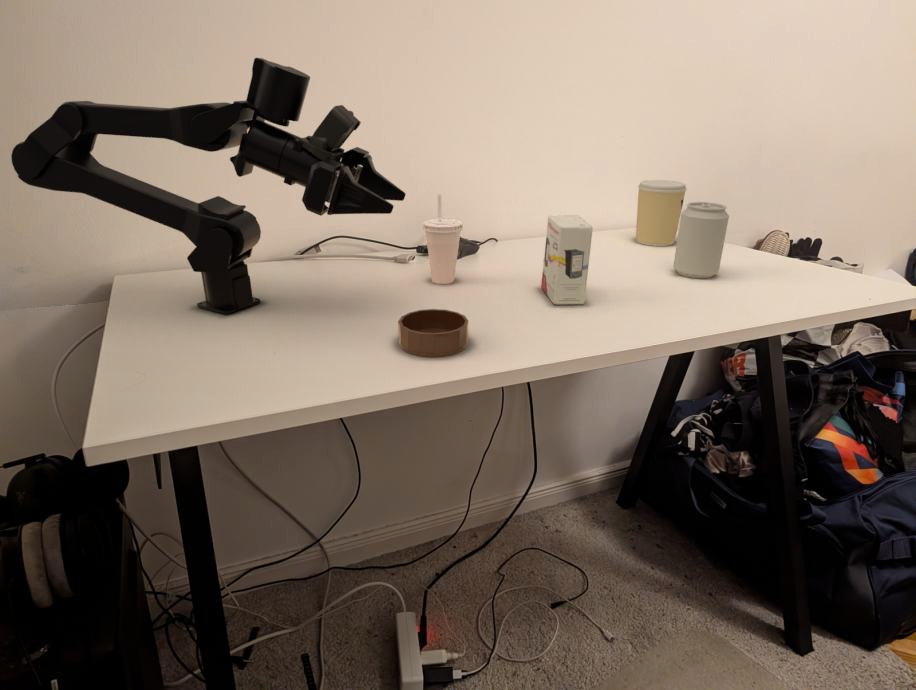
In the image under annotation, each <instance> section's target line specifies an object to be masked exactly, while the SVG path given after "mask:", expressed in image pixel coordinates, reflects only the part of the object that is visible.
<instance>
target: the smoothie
mask: <svg viewBox="0 0 916 690" xmlns="http://www.w3.org/2000/svg"><path fill="white" fill-rule="evenodd" d="M422 225H423V226H422V229H423V230H424V231H425V240H426V246H427V252H428V253H427V254H428V261H429V270H430V276H431V282H432V283H434V284H438V285H447V284H452V283H454V282H455V276H456V269H457V262H458V254H459V245H460V239H461V238H460V237H461V233H462V231H463V229H464V228H463V222H462V221H461V220H458V219H453V218H442V194H437V218H432V219H427V220H425V221H423V223H422Z"/></svg>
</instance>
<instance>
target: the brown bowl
mask: <svg viewBox="0 0 916 690" xmlns="http://www.w3.org/2000/svg"><path fill="white" fill-rule="evenodd" d="M469 323H470V322H469V319H468V317H466V315H464V314H462V313H460V312H458V311H454V310H450V309H441V308H428V309H419V310H415V311H409V312H407V313H405V314H404V315H401V316H400V317H399V319H398V321H397V326H398V327H397V329H398V342H399V347H400V348H401V349H402V350H403V351H404V352H406V353H408V354H410V355H413V356H418V357H425V358H426V357H427V358H439V357H448V356H452V355H456V354H459V353H461V352H462V351H464V350H465V349H466V348H467V347H468V344H469Z"/></svg>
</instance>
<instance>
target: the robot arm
mask: <svg viewBox="0 0 916 690" xmlns="http://www.w3.org/2000/svg"><path fill="white" fill-rule="evenodd" d="M310 80H311V76H310V75H308V74H307V73H305V72H303V71H301V70H299V69H296V68H294V67H292V66H287V65H282V64H279V63H276V62H273V61H269V60H267V59H265V58H263V57H255V58H254V59H253V63H252V67H251V79H250V82H249V86H248V90H247V91H248V92H247V96H246V100H234V101H233V102H232V103H230V102H211V103H210V102H209V103H197V104H190V105H181V106H176V107H170V108H169V107H158V106H157V107H156V106H143V105H142V106H140V105H127V104H110V103H99V102H98V103H97V102H94V101H90V100H75V101H74V100H73V101H64V102H62V104H60V105H59V106H58V107H57V108H56V110H54V113H53V114H52V115H51V116H50V117H49V118H48V119H47V120H46V121H44V122H42V123H41V124H40V125H39V126H38V127H36V128H35V129H34V130H33V131H31V132H30V133H29V134H28V135H27V137H26V138H25V140H24V141H20V142H19V143H17V144H16V145H15V146H14V147H13V149H12V151H11V155H10V156H11V164H12V167H13V169H14V171H15V172H16V174H17V178H18V179H19V180H20V181H22V182H23V183H24V184H26V185H27V186H31V187H35V188H41V189H46V190H49V191H54V192H64V193H65V192H66V193H76V194H77V193H78V194H83V195H86V196H89V197H92V198H94V199H97V200H99V201H101V202H104V203H107V204H108V205H111V206H114V207H118V208H119V209H122V210H124V211H126V212H129V213H132V214H134V215H137V216H139V217H142V218H145V219H147V220H150V221H153V222H155V223H158V224H160V225H163V226H165V227H168V228H170V229H173V230H175V231H178V232H180V233H182V234H183V235H184V236H185V237H186V238H187V239H188V240H189V241H190V242H191V243H192V244H193V245H194V246H195V247H194V249H193V250H192V251H191V252H190V253H189V255H187V258H186V259H187V261H188V263H189V265H190V267H191V269H192V271H193V272H195V273H201V280H202V285H203V286H202V287H203V292H204V297H205V300H202V301H200V302H197V303H196V306H197V308H200V309H202V310H203V309H204V310H208V311H210V312H215V313H218V314H222V315H229V314H233V313H236V312H238V311H240V310H243V309H247V308H249V307H252V306H254V305H257V304H260V303H261V301H262V300H261V298H259V297H255V296H253V292H252V291H253V289H252V282H251V276H250V275H249V268H248V264H247V263H245V260H246V259H249V258H250V257H251V256H252V252H253V249H254V247H255V246H256V245H258V243H259V241H260V240H261V235H262V230H261V226H260V223H259V221H258V220H257V217H256V216H255V215H254V214H253V213H252V212H250V211H248V210H245V209H246V208H247V205H245V204H236V203H233V202H231V201H229V200H228V199H226V198H225V197H221V196H220V195H218V196H215V197H211V198H209V199H206V200H203V201H202V202H196V201H193V200H191V199H188V198H186V197H183V196H181V195H179V194H176V193H173V192H170V191H168V190H165V189H163V188H160V187H158V186H156V185H153V184H150V183H148V182H146V181H143V180H141V179H138V178H135V177H133V176H130V175H128V174H126V173H123V172H121V171H118V170H116V169H112V168H110V167H107V166H105V165H103V164H101V163H100V161H98V160H97V159H96V158H95V157H94V155H93V154H91V153H92V152H93V151H94V148H95V145H96V141H97V137H98V136H99V135H108V136H119V137H121V136H122V137H136V138H150V139H151V138H152V139H164V140H169V141H173V142H176V143H178V144H180V145H182V146H185V147H189V148H192V149H195V150H201V151H205V152H210V153H212V152H218V151H223V150H228V149H232V148H237V147H238V151H237V154H236V155H234V156H230V157H229V161H230V162H231V163H232V165H233V167H234V171H235V173H236V176H238V177H239V178H241V177H245V176H248V175H250V174H252V173H253V170H254V167H257V168H259V169H261V170H263V171H266V172H268V173H271V174H273V175H275V176H278V177H280V178H282V179H283V184H286V185H288V186H291V187H292V186H294V185H295V184H297V185H298V186H301V187H303V188H304V192H303V194H302V197H301V201H302V203H303V206H304V207H305V210H306V211H308V212H311V213H313V214H316V215H318V216H320V217H322V216H323V215H324V214H326V215H328V216H333V215H369V214H371V215H374V214H375V215H376V214H377V215H379V214H380V215H384V214H386V215H390V214H392V212H393V210H394V208H395V207H394V204H393V203H391V202H389V201H398V202H403V201H404V200H405V198H406V195H407V194H406V192H405V191H403V190H402V189H401V188H400V187H398V186H397V185H396V184H394V182H391V181H390V180H389V179H387V178H386V177H385V176H384V175H382V173H380V172H379V171H377V169H376V167H375V164H374V162H373V157H372V156H371V154H370V151H368V150H366V149H363V148H361V147H358V146H356V147H353V148H351V149H349V150H346V151H345V149H344V148H342V146H343V145H344V143H346V141H347V140H348V138H349V137H350V136H351V134H353V132H354V131H357V130H358V128H359V127H360V125H361V123H362V122H361V121H360V120H359V119H358V118H357V117H356V116H355V114H354V112H353V111H352V110H348V108H347V107H345V106H344V105H343V104H339V105H335V106H333V107H332V108H331V109H330V110H329V112H328V113H327V114H326V116H325V117H324V119H323V120H322V121H321V123H319V125H318V127H317V128H316V129H315V131H314V132H313V134H312V135H307V136H305V137H300V136H299V135H297V134H294V133H292V132H289V131H287V130H284V129H282V128H281V127H285V128H286V127H287V128H288V127H289V126H290V123H291V122H299V121H300V118H301V114H302V110H303V106H304V103H305V99H306V95H307V92H308V88H309V84H310ZM265 121H267V122H265ZM290 121H291V122H290ZM270 123H272V124H270ZM273 124H275V125H278V126H280V127H277V126H275V125H273ZM326 203H328V204H329V205H328V206H327V205H326Z"/></svg>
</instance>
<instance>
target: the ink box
mask: <svg viewBox="0 0 916 690" xmlns="http://www.w3.org/2000/svg"><path fill="white" fill-rule="evenodd" d="M592 237H593V225H592V224H590V223H589V222H588V221H586V219H584V218H582V216H580V214H579V215H578V214H561V215H560V214H559V215H555V214H554V215H547V224H546V236H545V245H544V246H545V247H544V254H543V255H544V257H543V264H542V272H541V273H542V275H541V283H540V284H541V285H540V288H542V290H543V291H544V293H545V295H547V297H548V298H549V299H550V301H551V302H552V303H553V305H585V301H586V293H587V292H586V291H587V284H588V283H587V281H588V273H589V265H590V257H591V248H592V247H591V246H592V239H593V238H592Z"/></svg>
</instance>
